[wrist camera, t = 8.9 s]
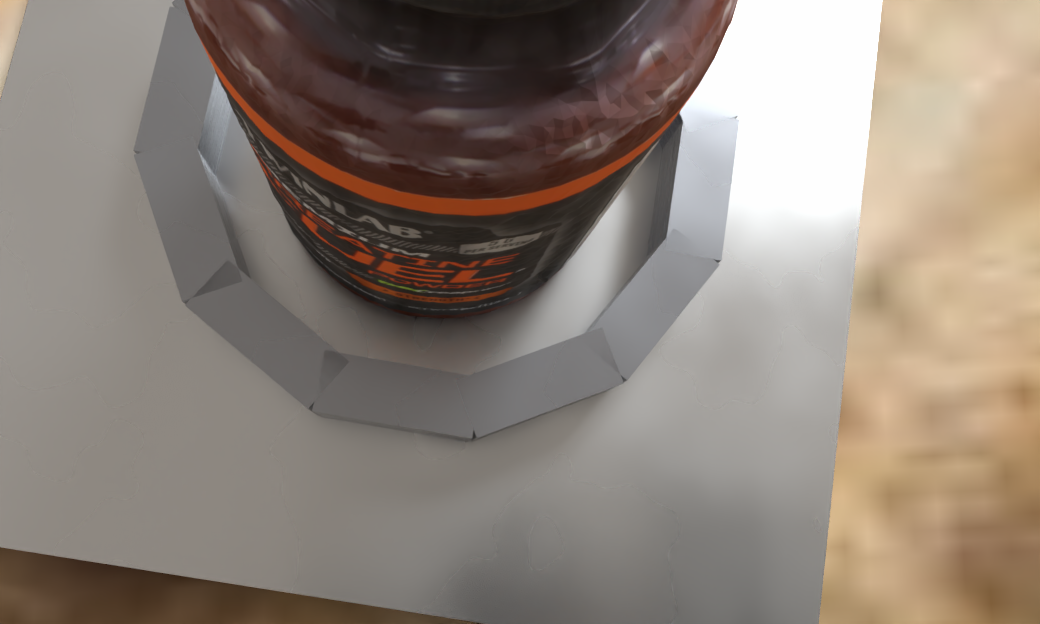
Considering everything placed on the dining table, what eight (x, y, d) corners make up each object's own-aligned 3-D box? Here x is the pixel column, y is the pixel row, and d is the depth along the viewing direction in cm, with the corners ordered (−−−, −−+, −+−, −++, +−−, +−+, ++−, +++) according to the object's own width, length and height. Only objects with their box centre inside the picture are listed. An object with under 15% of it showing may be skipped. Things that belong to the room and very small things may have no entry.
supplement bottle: (241, 288, 17) (-84, -62, 6) (320, -13, 18) (168, -768, 7) (568, 358, 18) (821, 151, 6) (626, 59, 19) (926, -553, 8)
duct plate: (796, 667, 18) (849, 694, 16) (-95, 526, 17) (-176, 532, 14) (877, -105, 21) (932, -177, 19) (125, -269, 20) (87, -365, 17)
